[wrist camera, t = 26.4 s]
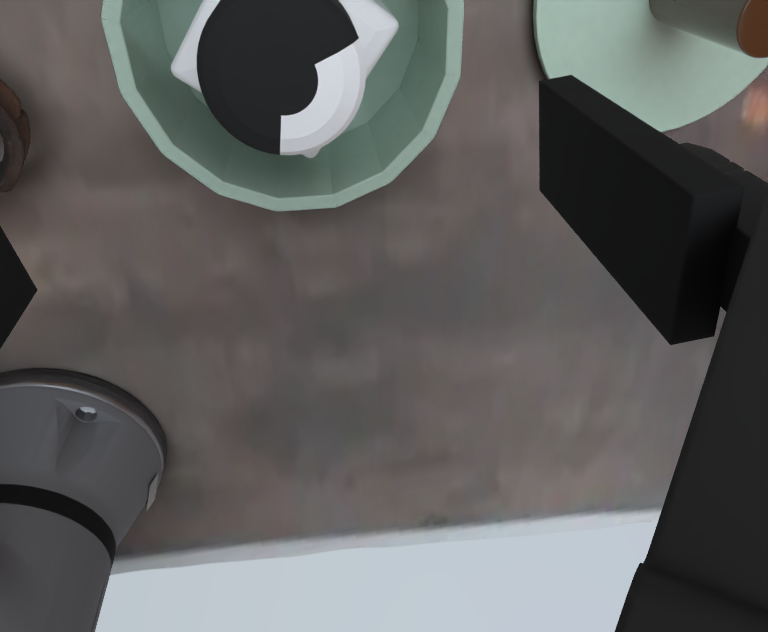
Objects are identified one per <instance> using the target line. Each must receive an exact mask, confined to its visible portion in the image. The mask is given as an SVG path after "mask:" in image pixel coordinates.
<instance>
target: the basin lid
mask: <svg viewBox="0 0 768 632" xmlns="http://www.w3.org/2000/svg"><path fill="white" fill-rule="evenodd" d="M533 26H534V38H535V43H536V48H537V53H538V57H539V59H540V62H541V65H542V68H543V71H544V73H545V75H546V77H547V79H552V78H557V77H562V76H567V75H573V76H574V77H576V78H577V79H579V80H580V81H582V82H583V83H585V84H587V85H588V86H590V87H591V88H593V89H594V90H596V91H597V92H599V93H601V94H602V95H604V96H605V97H607V98H608V99H610V100H611V101H613V102H614V103H616V104H618V105H619V106H621V107H622V108H624V109H625V110H627V111H628V112H630V113H632V114H633V115H635V116H636V117H638V118H639V119H641V120H642V121H644V122H646V123H647V124H649V125H650V126H652V127H653V128H655V129H656V130H658V131H660V132H664V131H668V130H672V129H676V128H679V127H682V126H684V125H687V124H690V123H692V122H695V121H697V120H699V119H701V118H703V117H705V116H707V115H709V114H710V113H712V112H714V111H715V110H717V109H718V108H720V107H721V106H723V105H725V104H726V103H728V102H729V101H730V100H731V99H733V98H734V97H735V96H737V95H738V94H739V93H740V92H742V91H743V90H744V89H745V88H746V87H747V86H748V85H749V84H750V83H751V82H752V81H753V80H755V79H756V78H757V77H758V75H759V74H760V73H761V72H762V71H763V70H764V69H765V68H766V67H767V65H768V0H534V5H533Z"/></svg>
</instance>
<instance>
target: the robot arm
mask: <svg viewBox="0 0 768 632" xmlns="http://www.w3.org/2000/svg"><path fill="white" fill-rule="evenodd" d="M539 157H540V191H541V192H542V193H543V195H544V196H545V197H546V198H547V199H548V201H549V202H550V203H551V204H552V205H553V207H554V208H555V209H556V210H557V211H558V212H559V214H560V215H561V216H562V217H563V218H564V220H565V221H566V222H567V223H568V224H569V225H570V227H571V228H572V229H573V230H574V231H575V233H576V234H577V235H578V236H579V237H580V239H581V240H582V241H583V242H584V243H585V244H586V246H587V247H588V248H589V249H590V250H591V252H592V253H593V254H594V255H595V256H596V257H597V259H598V260H599V261H600V262H601V263H602V265H603V266H604V267H605V268H606V269H607V270H608V272H609V273H610V274H611V275H612V276H613V278H614V279H615V280H616V281H617V282H618V284H619V285H620V286H621V287H622V288H623V289H624V291H625V292H626V293H627V294H628V295H629V297H630V298H631V299H632V300H633V301H634V302H635V304H636V305H637V306H638V307H639V308H640V310H641V311H642V312H643V313H644V314H645V315H646V317H647V318H648V319H649V320H650V321H651V323H652V324H653V325H654V326H655V327H656V329H657V330H658V331H659V332H660V333H661V334H662V336H663V337H664V338H665V339H666V340H667V342H668V343H669V344H670V345H673V344H678V343H683V342H688V341H693V340H698V339H702V338H707V337H712V336H714V335H715V330H716V325H717V320H718V315H719V310H720V306H721V307H722V308H723V309H724V310H725V311H726V312H727V313H726V316H725V319H724V322H723V325H722V328H721V331H720V334H719V337H718V340H717V343H716V346H715V350H714V353H713V356H712V359H711V362H710V365H709V368H708V371H707V374H706V377H705V380H704V383H703V386H702V389H701V392H700V395H699V398H698V401H697V405H696V408H695V411H694V414H693V417H692V420H691V423H690V426H689V429H688V432H687V435H686V438H685V441H684V444H683V447H682V450H681V453H680V456H679V459H678V463H677V466H676V469H675V472H674V475H673V478H672V481H671V484H670V487H669V490H668V493H667V496H666V499H665V502H664V505H663V508H662V511H661V514H660V518H659V521H658V524H657V527H656V530H655V533H654V536H653V539H652V542H651V545H650V548H649V551H648V554H647V557H646V559H645V561H644V563H640V564H639V566H638V568H637V570H636V572H635V575H634V577H633V580H632V583H631V586H630V589H629V591H628V594H627V597H626V600H625V603H624V606H623V609H622V612H621V615H620V618H619V621H618V624H617V627H616V630H615V632H768V183H766V182H765V181H763V180H761V179H760V178H758V177H757V176H755V175H753V174H752V173H750V172H748V171H744V169H743V168H742V167H740V166H738V165H737V164H735V163H733V162H731V163H730V162H729V159H727V158H725V157H724V156H722V155H720V154H719V153H717V152H715V151H714V150H712V149H708V148H704V147H701V146H697V145H694V144H690V143H683V144H678V143H677V142H675V141H674V140H672V139H670V138H669V137H667V136H666V135H664V134H663V133H661V132H660V131H658V130H656V129H655V128H653V127H652V126H650V125H649V124H647V123H646V122H644V121H642V120H641V119H639V118H638V117H636V116H635V115H633V114H632V113H630V112H628V111H627V110H625V109H624V108H622V107H621V106H619V105H618V104H616V103H614V102H613V101H611V100H610V99H608V98H607V97H605V96H604V95H602V94H601V93H599V92H597V91H596V90H594V89H593V88H591V87H590V86H588V85H587V84H585V83H583V82H582V81H580V80H579V79H577V78H576V77H574V76H573V75H567V76H562V77H557V78H552V79H547V80H542V81H539ZM36 291H37V288H36V287H35V285H34V283H33V281H32V280H31V278H30V276H29V275H28V273H27V271H26V269H25V268H24V266H23V264H22V263H21V261H20V259H19V257H18V256H17V254H16V252H15V250H14V249H13V247H12V245H11V244H10V242H9V240H8V238H7V237H6V235H5V233H4V232H3V230H2V228H1V226H0V348H1V347H2V345H3V344H4V342H5V341H6V339H7V337H8V336H9V334H10V333H11V331H12V329H13V328H14V326H15V325H16V323H17V322H18V320H19V318H20V317H21V315H22V314H23V312H24V310H25V309H26V307H27V306H28V304H29V303H30V301H31V299H32V298H33V296H34V295H35V293H36ZM166 455H167V448H166V441H165V438H164V434H163V432H162V430H161V427H160V426H159V424H158V422H157V421H156V419H155V418H154V417H153V415H152V414H151V413H150V412H149V411H148V410H147V409H146V408H145V407H144V406H143V405H142V404H141V403H140V402H139V401H137V400H136V399H135V398H133V397H132V396H131V395H129V394H127V393H126V392H124V391H123V390H121V389H119V388H117V387H115V386H113V385H111V384H109V383H107V382H104V381H102V380H99V379H96V378H93V377H90V376H87V375H83V374H79V373H74V372H70V371H63V370H55V369H24V370H16V371H10V372H6V373H2V374H0V632H95V629H96V625H97V621H98V617H99V614H100V610H101V606H102V602H103V598H104V595H105V591H106V587H107V584H108V580H109V576H110V572H111V568H112V564H113V561H114V557H115V553H116V550H117V547H118V546H119V544H120V543H121V541H122V540H123V538H124V537H125V535H126V534H127V532H128V531H129V529H130V528H131V526H132V525H133V523H134V522H135V520H136V518H137V517H138V515H139V514H140V512H141V510H142V509H143V508H144V507H145V506H146V504H147V503H148V505H147V511H148V509H149V508H150V506H151V505H152V503H153V502H154V500H155V496H156V491H157V489H158V487H159V485H160V482H161V478H162V474H163V470H164V465H165V461H166Z"/></svg>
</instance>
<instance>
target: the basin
mask: <svg viewBox="0 0 768 632" xmlns="http://www.w3.org/2000/svg"><path fill="white" fill-rule="evenodd" d="M202 1H203V0H103V4H102V12H101V18H102V25H103V28H104V32H105V36H106V40H107V44H108V48H109V52H110V55H111V59H112V63H113V67H114V71H115V75H116V79H117V82H118V86H119V90H120V93H122V94H121V95H122V97H123V98H124V100H125V101H126V103H127V104H128V105H129V107H130V108H131V110H132V111H133V113H134V114H135V116H136V117H137V119H138V120H139V121H140V123H141V124H142V126H143V127H144V129H145V130H146V132H147V133H148V134H149V136H150V137H151V139H152V140H153V142H154V143H155V145H156V146H157V148H158V149H159V150H160V152H161V153H163V155H164V156H165V157H167V158H168V159H170V160H171V161H172V162H174V163H175V164H176V165H178V166H179V167H180V168H182V169H183V170H185V171H186V172H187V173H189V174H190V175H191V176H193V177H194V178H196V179H197V180H198V181H200V182H201V183H202V184H204V185H205V186H207V187H208V188H209V189H211V190H212V191H213V192H215V193H217V194H218V195H222V196H225V197H228V198H232V199H235V200H238V201H242V202H245V203H249V204H252V205H255V206H259V207H262V208H266V209H269V210H272V211H278V212H279V211H294V210H309V209H324V208H336V207H339V206H341V205H343V204H346V203H348V202H350V201H352V200H354V199H356V198H359V197H361V196H363V195H365V194H367V193H369V192H372V191H374V190H376V189H378V188H380V187H383V186H385V185H387V184H389V183H390V182H392V181H393V180H394V179H395V178H396V177H397V176H398V175H399V174H400V173H401V172H402V171H403V170H404V169H405V168H406V167H407V166H408V165H409V164H410V163H411V162H412V161H413V160H414V159H415V157H416V156H417V155H418V154H419V153H420V152H421V151H422V150H423V149H424V148H425V147H426V146H427V145H428V144H429V143H430V142H431V141H432V140H433V138H434V137H435V135H436V133H437V131H438V128H439V126H440V124H441V121H442V119H443V117H444V115H445V112H446V110H447V108H448V105H449V103H450V101H451V98H452V96H453V94H454V92H455V89H456V87H457V85H458V82H459V80H460V76H461V62H462V43H463V24H464V1H463V0H382V1H383V2H384V4H385V5H386V6H387V8H388V9H389V10H390V12H391V13H392V14H393V16H394V17H395V18H396V20H397V21H398V25H399V28H398V31H397V33H396V34H395V36H394V37H393V39H392V40H391V42H390V43H389V45H388V46H387V48H386V49H385V51H384V52H383V54H382V56H381V57H380V59H379V60H378V62H377V63H376V65H375V66H374V68H373V69H372V71H371V72H370V74H369V75H368V77H367V79H366V81H365V89H364V94H363V98H362V101H361V104H360V106H359V109H358V111H357V113H356V115H355V117H354V118H353V120H352V121H351V123H350V124H349V125H348V127H347V128H346V129H345V130H344V131H343V132H342V133H341V134H340V135H339V136H338V137H337V138H335V139H334V140H333V141H332V142H330V143H328V144H327V145H325V146H323V147H321V149H320V151H319V152H318V154H317V155H316V156H315V157H314V158H307V157H305V156H304V155H302V154H297V155H276V154H270V153H266V152H262V151H259V150H256V149H254V148H252V147H250V146H247V145H246V144H244V143H242V142H241V141H239V140H237V139H236V138H235V137H234V136H232V135H231V134H230V133H228V132H227V130H226V129H225V128H224V127H223V126H222V125H221V124H220V123H219V122H218V121H217V119H216V118H215V117H214V115H213V114H212V112H211V111H210V109H209V107H208V106H207V104H206V101H205V99H204V97H203V94H202V93H201V92H199V91H198V90H196V89H194V88H193V87H191V86H189V85H188V84H186V83H185V82H183V81H181V80H180V79H178V78H176V77H175V76H174V75H173V74H172V71H171V64H172V62H173V60H174V58H175V56H176V54H177V52H178V50H179V48H180V46H181V44H182V42H183V40H184V38H185V36H186V34H187V32H188V30H189V28H190V26H191V23H192V21H193V19H194V17H195V15H196V13H197V11H198V9H199V7H200V5H201V3H202Z"/></svg>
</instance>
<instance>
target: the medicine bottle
mask: <svg viewBox="0 0 768 632" xmlns="http://www.w3.org/2000/svg"><path fill="white" fill-rule="evenodd" d="M398 28H399V25H398V21H397V20H396V18H395V17H394V16H393V14H392V13H391V12H390V10H389V9H388V8H387V6H386V5H385V4H384V2H383V1H382V0H203V1H202V3H201V5H200V7H199V9H198V11H197V13H196V15H195V17H194V19H193V21H192V23H191V26H190V28H189V30H188V32H187V34H186V36H185V38H184V40H183V42H182V44H181V46H180V48H179V50H178V52H177V54H176V56H175V58H174V60H173V62H172V64H171V71H172V74H173V75H174V76H175V77H176V78H178V79H180V80H181V81H183V82H185V83H186V84H188V85H189V86H191V87H193V88H194V89H196V90H198V91H199V92H201V93H202V94H203V97H204V99H205V101H206V104H207V106H208V107H209V109H210V111H211V112H212V114H213V115H214V117H215V118H216V119H217V121H218V122H219V123H220V124H221V125H222V126H223V127H224V128H225V129H226V130H227V132H228V133H230V134H231V135H232V136H234V137H235V138H236V139H237V140H239V141H241V142H242V143H244V144H246V145H247V146H250V147H252V148H254V149H256V150H259V151H262V152H266V153H270V154H276V155H297V154H302V155H304V156H305V157H307V158H314V157H315V156H316V155H317V154H318V152H319V151H320V149H321V147H323V146H325V145H327V144H328V143H330V142H332V141H333V140H334V139H335V138H337V137H338V136H339V135H340V134H341V133H342V132H343V131H344V130H345V129H346V128H347V127H348V125H349V124H350V123H351V121H352V120H353V118H354V117H355V115H356V113H357V111H358V109H359V106H360V104H361V101H362V98H363V94H364V89H365V81H366V79H367V77H368V75H369V74H370V72H371V71H372V69H373V68H374V66H375V65H376V63H377V62H378V60H379V59H380V57H381V56H382V54H383V52H384V51H385V49H386V48H387V46H388V45H389V43H390V42H391V40H392V39H393V37H394V36H395V34H396V33H397V31H398Z"/></svg>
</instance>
